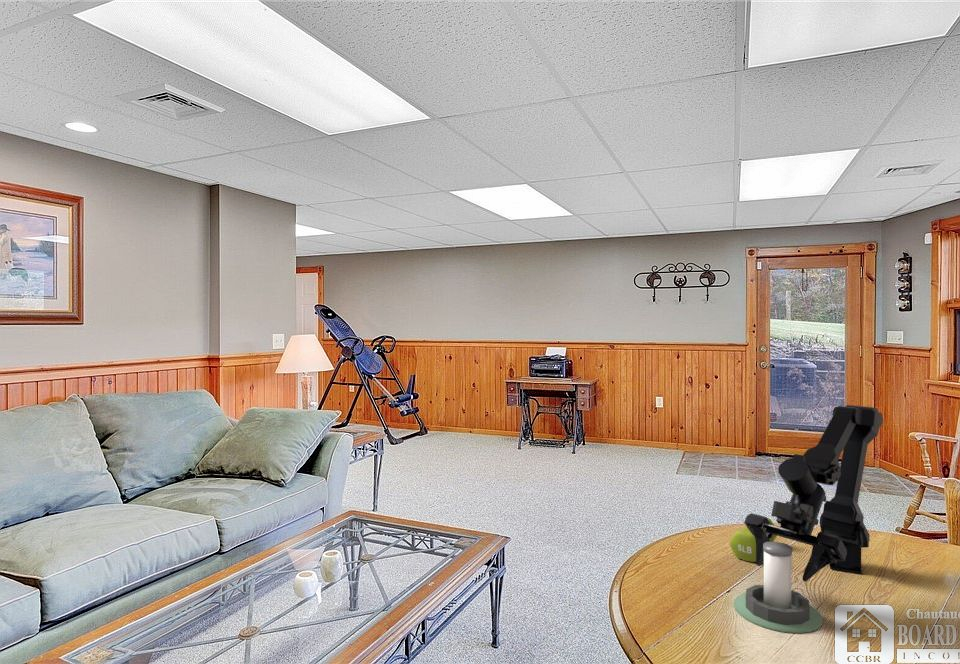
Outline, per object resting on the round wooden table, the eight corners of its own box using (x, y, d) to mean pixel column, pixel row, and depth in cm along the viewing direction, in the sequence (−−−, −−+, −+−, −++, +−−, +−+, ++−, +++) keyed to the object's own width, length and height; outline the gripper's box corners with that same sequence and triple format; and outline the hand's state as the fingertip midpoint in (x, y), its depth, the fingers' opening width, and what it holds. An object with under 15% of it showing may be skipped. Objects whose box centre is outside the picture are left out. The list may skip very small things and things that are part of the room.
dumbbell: (761, 566, 141) (761, 537, 140) (727, 558, 146) (727, 529, 146) (779, 546, 153) (779, 518, 153) (747, 538, 158) (747, 512, 158)
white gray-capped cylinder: (784, 603, 121) (784, 541, 121) (796, 616, 116) (797, 551, 116) (758, 603, 122) (758, 541, 121) (769, 616, 117) (770, 551, 116)
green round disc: (819, 602, 123) (819, 589, 122) (825, 641, 108) (825, 625, 108) (736, 587, 130) (736, 574, 130) (731, 621, 115) (731, 607, 115)
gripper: (748, 476, 130) (722, 538, 123) (841, 496, 115) (817, 568, 109) (765, 504, 135) (741, 565, 128) (856, 526, 120) (834, 596, 114)
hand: (780, 572), depth 120 cm, fingers open, 9 cm apart
